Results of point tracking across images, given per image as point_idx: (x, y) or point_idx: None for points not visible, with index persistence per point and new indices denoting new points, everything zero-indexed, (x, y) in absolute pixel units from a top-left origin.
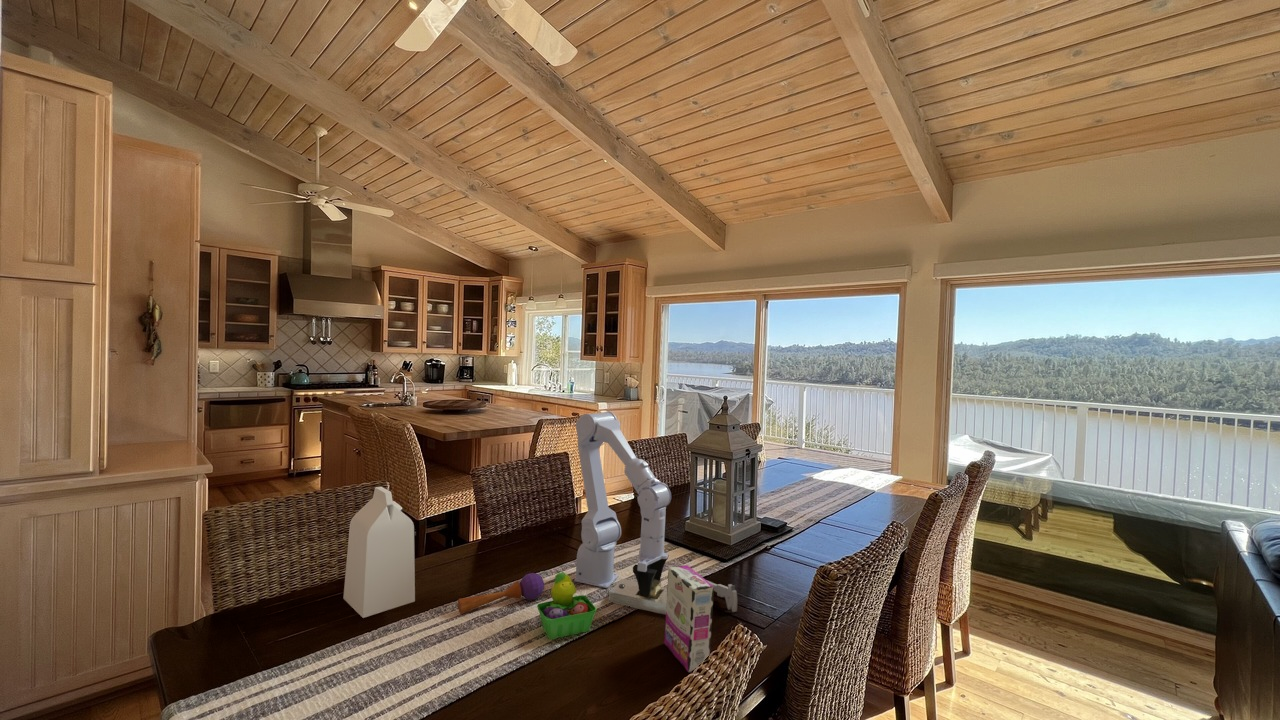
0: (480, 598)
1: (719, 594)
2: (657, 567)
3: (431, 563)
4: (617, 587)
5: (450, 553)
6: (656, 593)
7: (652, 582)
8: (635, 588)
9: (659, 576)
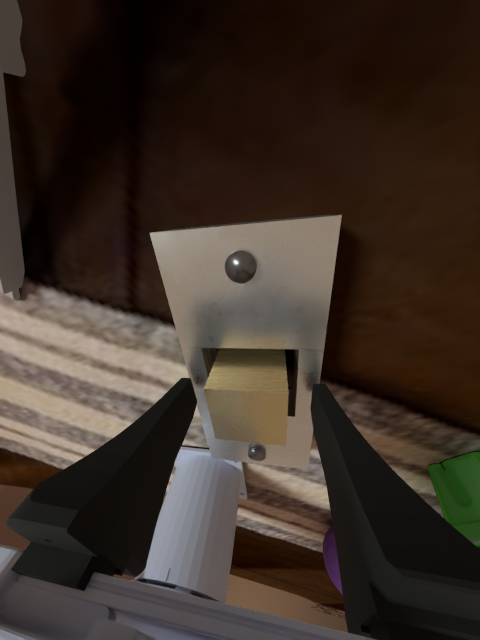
0: None
1: (7, 37)
2: (154, 455)
3: (291, 587)
4: (269, 458)
5: (255, 579)
6: (269, 366)
7: (241, 413)
8: None
9: (174, 404)
